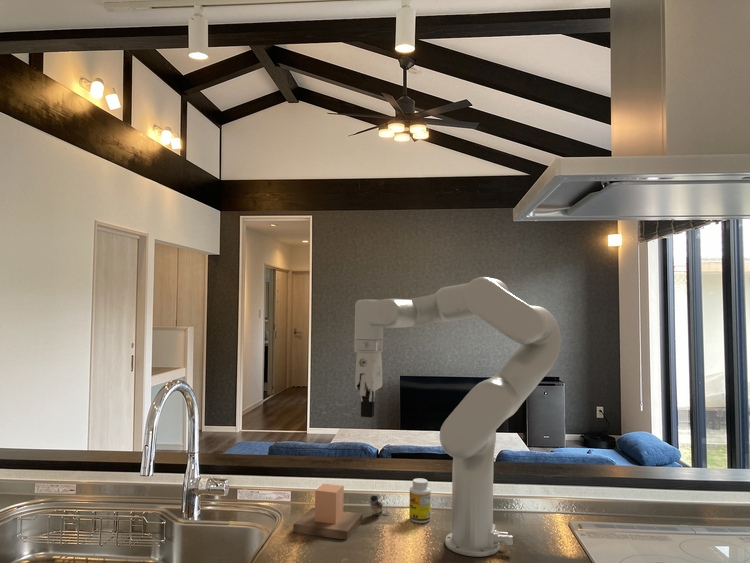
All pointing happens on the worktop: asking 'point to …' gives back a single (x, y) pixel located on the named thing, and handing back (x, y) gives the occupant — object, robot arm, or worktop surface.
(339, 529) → the walnut base board
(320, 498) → the peach upright block
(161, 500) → the worktop surface
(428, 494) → the supplement bottle
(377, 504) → the bird figurine
